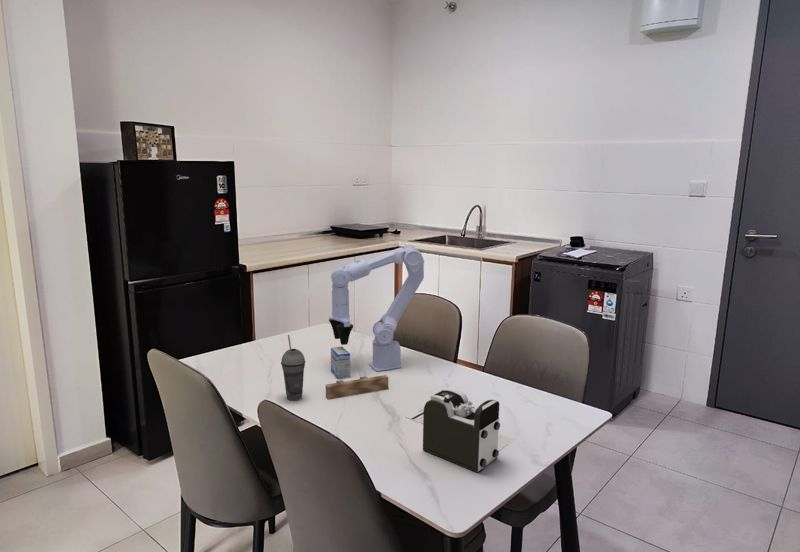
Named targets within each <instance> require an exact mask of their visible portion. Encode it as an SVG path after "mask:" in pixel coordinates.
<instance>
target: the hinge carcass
mask: <svg viewBox="0 0 800 552" xmlns="http://www.w3.org/2000/svg"><path fill="white" fill-rule="evenodd" d="M384 390H385V391H386V390H389V376H388V375H387V374H383V375H377V376H373V377H372V376H370V377H368V376H366V375H365V376H360V377H359V379H352V380H347V381H345V380H342V379H338V380H336V381H335V382H334V383H329V384H325V398H326V399H327V400H331V399H337V398H343V397H349V396H350V397H351V396H354V395H361V394H366V393H367V394H368V393H373V392H379V391H384Z"/></svg>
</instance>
